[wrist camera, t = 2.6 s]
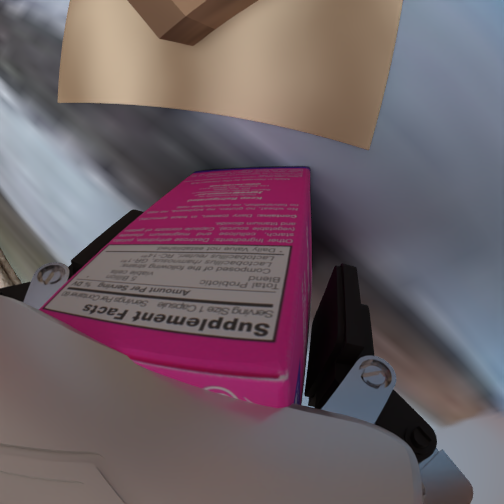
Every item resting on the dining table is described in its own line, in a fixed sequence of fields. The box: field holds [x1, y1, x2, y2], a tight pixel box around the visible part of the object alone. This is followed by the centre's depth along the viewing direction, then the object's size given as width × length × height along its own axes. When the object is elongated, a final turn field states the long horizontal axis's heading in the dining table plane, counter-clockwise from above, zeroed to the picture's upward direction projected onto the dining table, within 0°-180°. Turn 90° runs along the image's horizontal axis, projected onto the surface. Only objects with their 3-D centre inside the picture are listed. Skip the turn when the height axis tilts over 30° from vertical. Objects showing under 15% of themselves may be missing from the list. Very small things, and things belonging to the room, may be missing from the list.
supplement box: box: [39, 167, 312, 408], centre depth 10 cm, size 6×6×12 cm
